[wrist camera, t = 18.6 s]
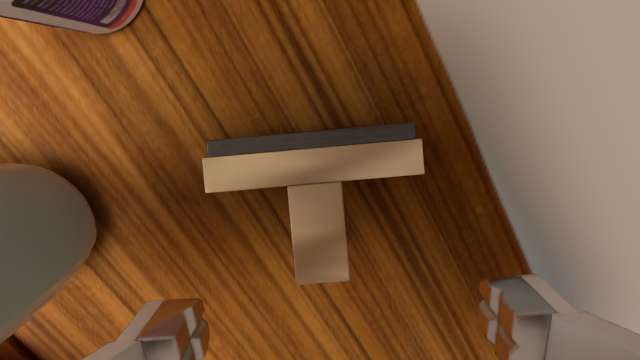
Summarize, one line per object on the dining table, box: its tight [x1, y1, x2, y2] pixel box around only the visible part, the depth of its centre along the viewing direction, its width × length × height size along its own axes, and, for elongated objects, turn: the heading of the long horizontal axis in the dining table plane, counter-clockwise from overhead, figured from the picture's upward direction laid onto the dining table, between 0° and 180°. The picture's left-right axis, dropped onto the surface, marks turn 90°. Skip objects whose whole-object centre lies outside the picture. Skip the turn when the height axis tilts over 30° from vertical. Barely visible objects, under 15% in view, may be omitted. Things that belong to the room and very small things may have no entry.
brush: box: [202, 122, 425, 285], centre depth 17 cm, size 10×5×7 cm
